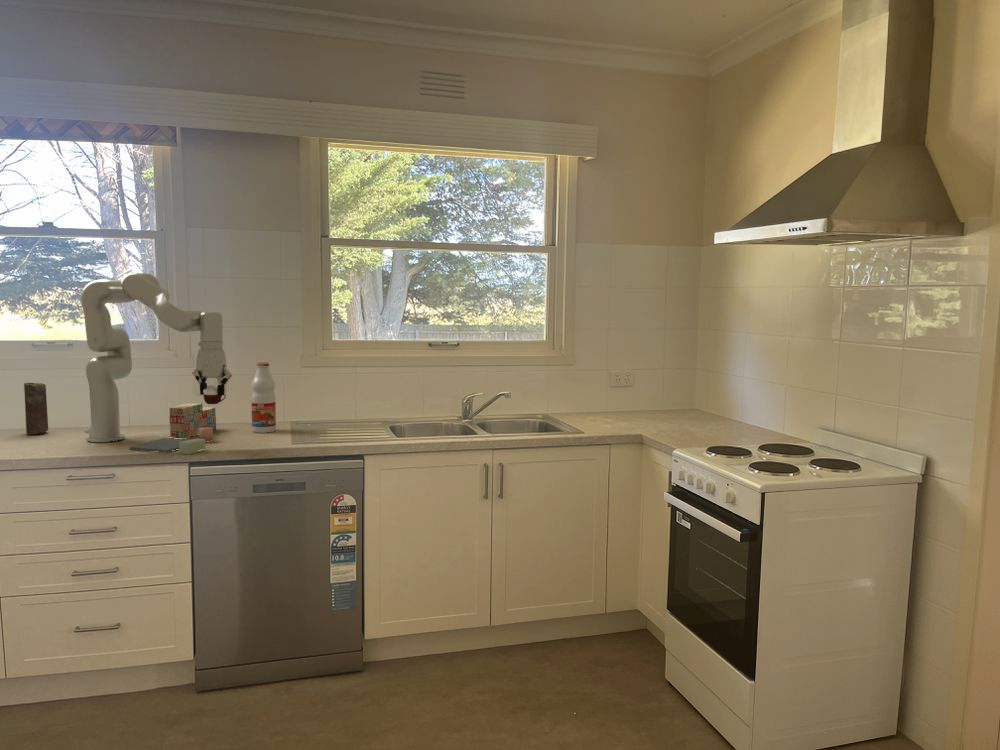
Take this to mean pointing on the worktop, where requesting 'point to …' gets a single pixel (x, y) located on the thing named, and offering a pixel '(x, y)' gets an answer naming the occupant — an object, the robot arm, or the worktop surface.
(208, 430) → the terracotta cylinder
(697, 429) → the worktop surface
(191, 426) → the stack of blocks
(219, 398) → the cocoa
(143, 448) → the mat
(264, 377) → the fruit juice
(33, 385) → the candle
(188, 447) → the green brick
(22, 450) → the worktop surface
